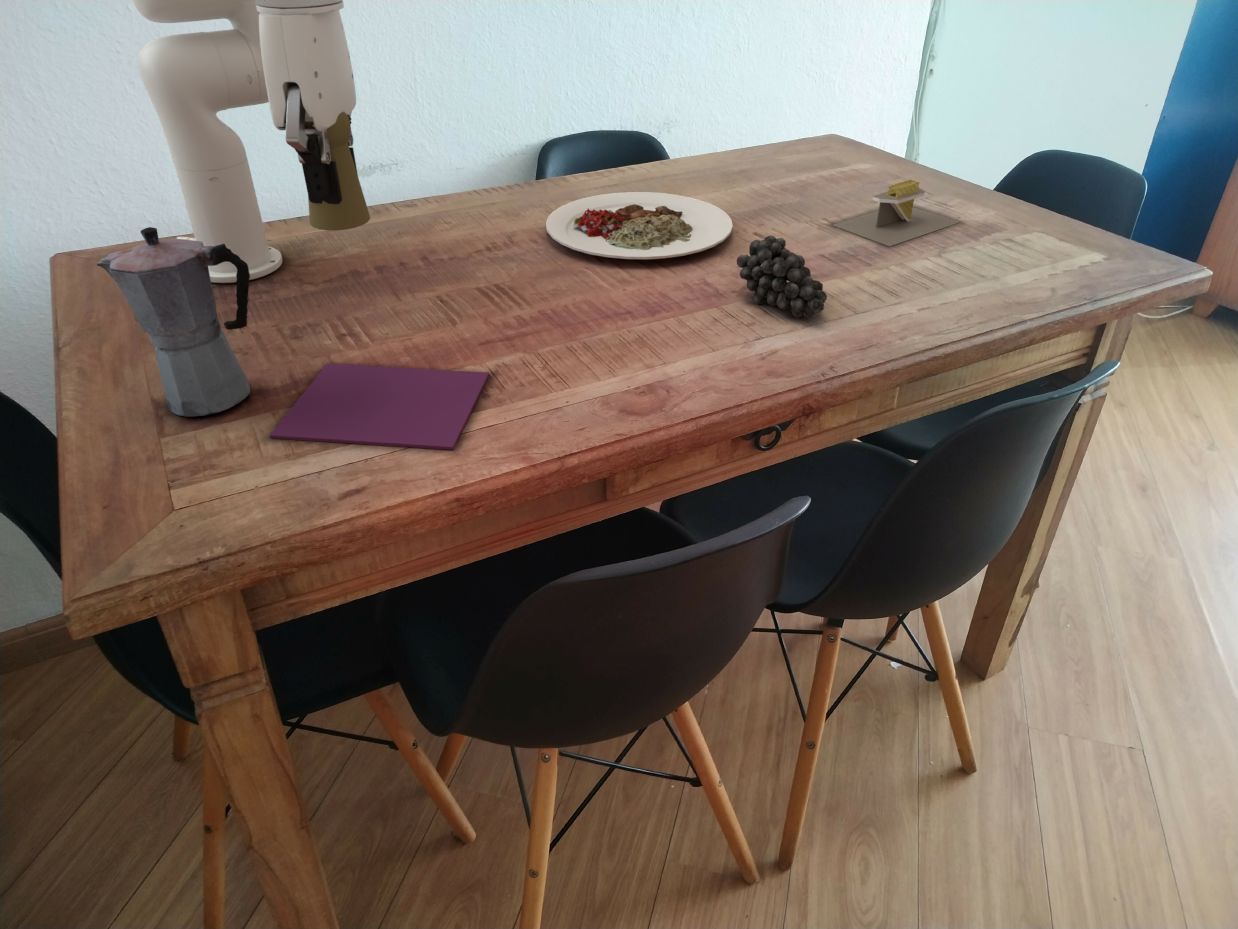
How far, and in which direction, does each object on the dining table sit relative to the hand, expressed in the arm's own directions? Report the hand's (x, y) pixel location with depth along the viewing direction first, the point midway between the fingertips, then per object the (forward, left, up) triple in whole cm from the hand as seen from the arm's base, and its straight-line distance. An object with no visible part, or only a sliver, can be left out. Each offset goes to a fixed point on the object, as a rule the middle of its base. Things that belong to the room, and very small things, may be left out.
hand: (334, 192), depth 90 cm
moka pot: (-17, -4, -23) cm, 29 cm away
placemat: (+3, -3, -23) cm, 23 cm away
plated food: (+26, +54, -23) cm, 64 cm away
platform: (+68, +63, -23) cm, 95 cm away
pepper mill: (0, 0, -3) cm, 3 cm away
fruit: (+48, +28, -23) cm, 60 cm away
